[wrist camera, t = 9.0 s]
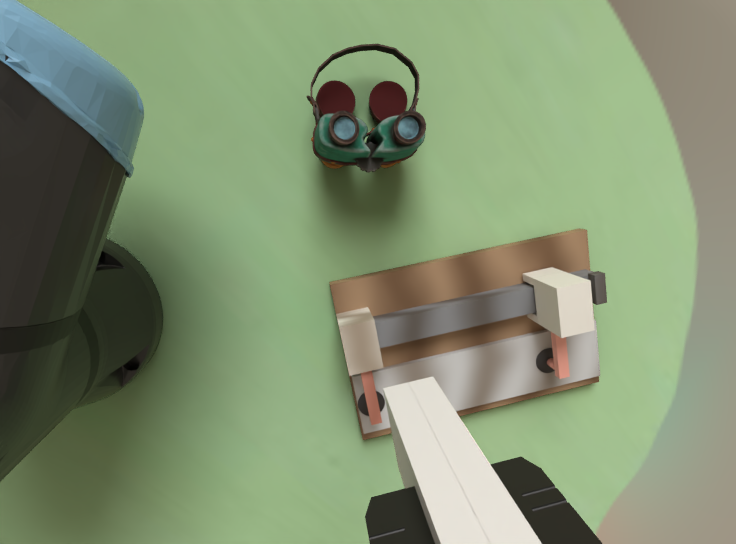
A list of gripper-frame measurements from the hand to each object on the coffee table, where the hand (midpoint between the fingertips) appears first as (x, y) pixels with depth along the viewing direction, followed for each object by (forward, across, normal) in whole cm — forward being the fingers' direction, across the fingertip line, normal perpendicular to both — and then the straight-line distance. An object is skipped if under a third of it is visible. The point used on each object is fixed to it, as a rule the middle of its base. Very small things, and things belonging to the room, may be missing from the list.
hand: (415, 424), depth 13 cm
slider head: (+28, +18, -10) cm, 35 cm away
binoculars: (+30, +4, +12) cm, 32 cm away
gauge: (+29, +11, -10) cm, 33 cm away
